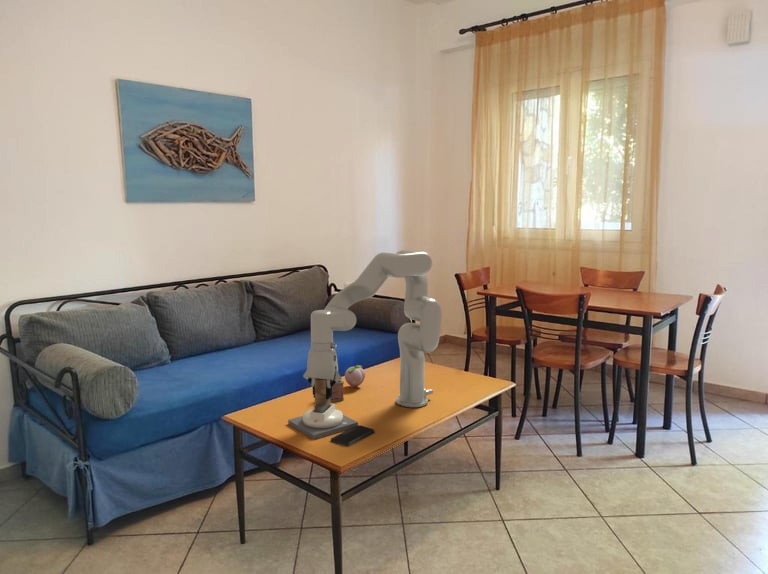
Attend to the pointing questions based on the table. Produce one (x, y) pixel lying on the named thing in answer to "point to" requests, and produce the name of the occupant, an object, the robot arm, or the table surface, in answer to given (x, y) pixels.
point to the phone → (352, 435)
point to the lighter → (337, 391)
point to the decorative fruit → (355, 375)
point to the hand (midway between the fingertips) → (322, 396)
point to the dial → (323, 418)
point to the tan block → (321, 396)
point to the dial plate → (321, 432)
